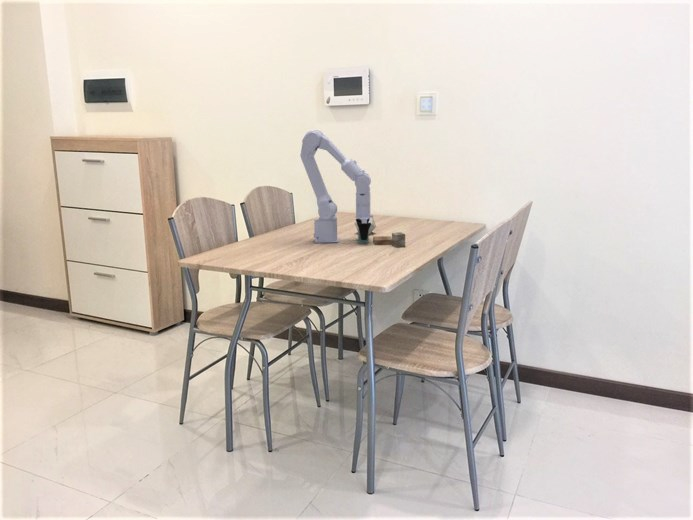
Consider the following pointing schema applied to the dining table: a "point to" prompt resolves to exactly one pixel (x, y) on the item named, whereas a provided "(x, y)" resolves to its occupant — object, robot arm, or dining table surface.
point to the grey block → (398, 239)
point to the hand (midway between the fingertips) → (363, 238)
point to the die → (370, 226)
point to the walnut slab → (382, 240)
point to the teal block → (362, 240)
